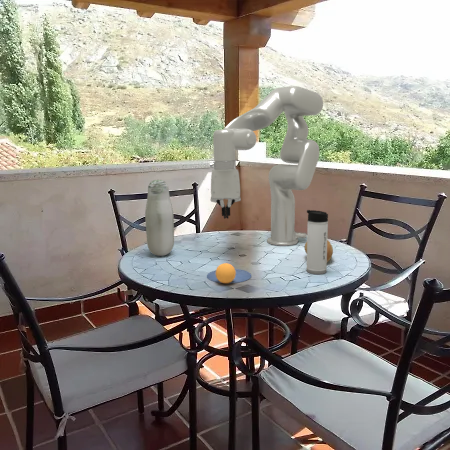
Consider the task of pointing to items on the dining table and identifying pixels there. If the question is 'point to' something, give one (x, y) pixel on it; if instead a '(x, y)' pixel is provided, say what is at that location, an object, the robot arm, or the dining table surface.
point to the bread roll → (329, 250)
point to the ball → (225, 273)
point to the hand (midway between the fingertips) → (226, 217)
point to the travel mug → (317, 242)
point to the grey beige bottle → (159, 219)
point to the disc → (239, 277)
